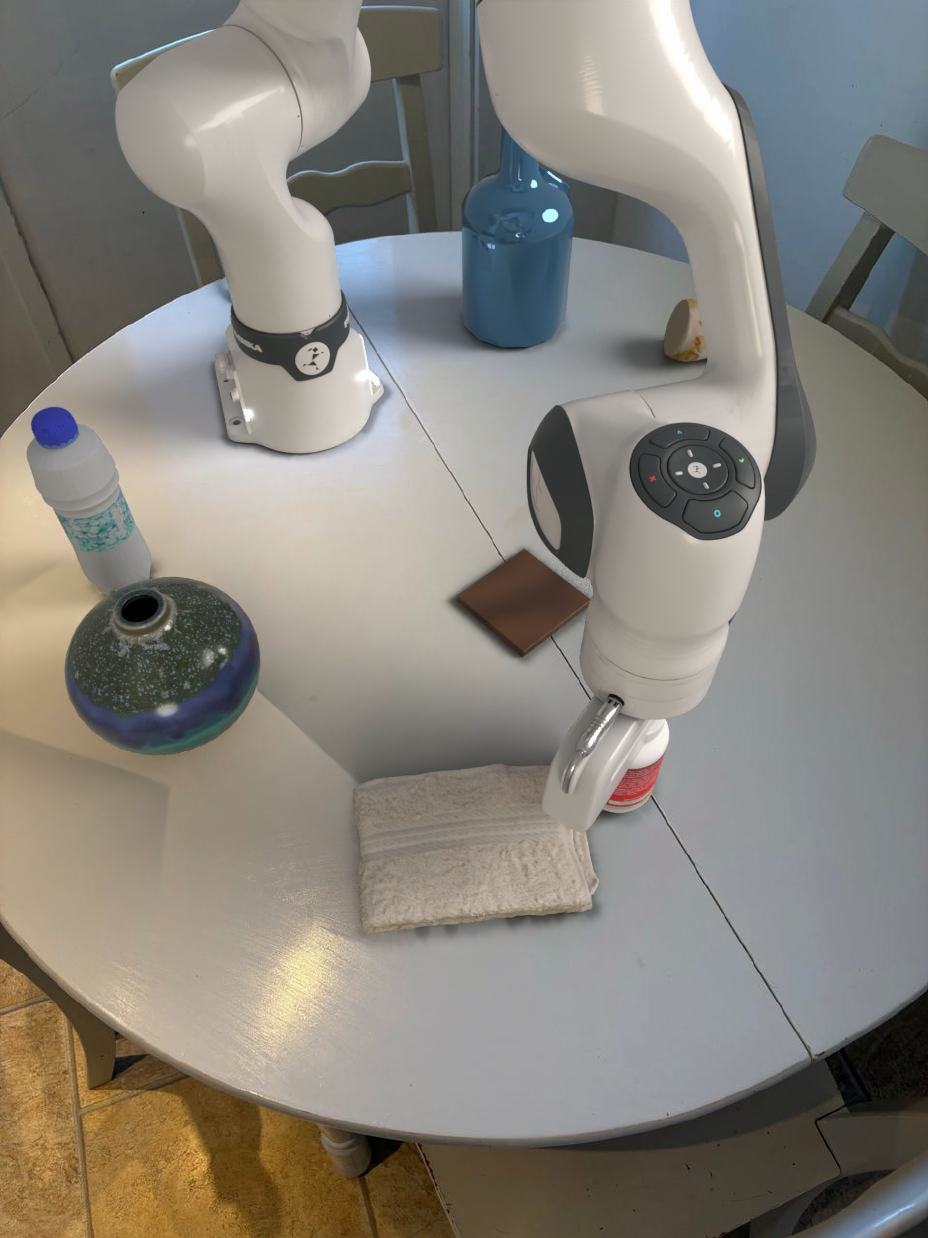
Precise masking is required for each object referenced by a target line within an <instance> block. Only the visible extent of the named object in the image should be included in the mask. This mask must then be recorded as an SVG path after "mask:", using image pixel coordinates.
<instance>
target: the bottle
mask: <svg viewBox="0 0 928 1238" xmlns="http://www.w3.org/2000/svg"><path fill="white" fill-rule="evenodd" d="M30 429H31V432H32V434H33V436H34V438H33V439H32V440H31V441H30V442H29V444H28V446H27V448H26V460H27V463H28V466H29V469H30V472H31V475H32V478H33V481H34V485H35V486H34V487H35V488H36V490H37V491H38V493H39V494H40V495H41V498H42V500H43V501H44V503H45V504H47V505H48V506H49V507H51V509H52V510H53V512H54V514H55V515H56V518H57V519H58V521H59V523H60V525H61V527H62V529H63V531H64V533H65V535H66V537H67V539H68V541H69V542H70V544H71V546H72V549H73V551H74V555H75V556H76V559H77V561H78V565H79V566H80V568H81V571H82V572H83V574H84V576H85V578H86V579H87V581H88V582H89V583H90V584H92V585H93V586H94V587H95V588H97V589H98V591H99V592H101V593H102V594H104V595H107V596H109V595H110V594H112V593H114V592H115V591H117V590H119V589H121V588H123V587H125V586H128V585H131V584H133V583H136V582H139V581H143V580H147V579H150V575H151V568H152V566H153V558H152V554H151V551H150V547H149V546H148V544H147V542H146V540H145V538H144V536H143V534H142V533H141V531H140V529H139V526H138V525H137V524H136V521H135V519H134V516H133V514H132V512H131V509H130V507H129V505H128V503H127V500H126V497H125V495H124V493H123V490H122V488H121V486H120V484H119V483H120V474H119V470H118V469H117V467H116V462H115V460H114V457H113V456H112V455H111V454H110V452H109V451H108V449H107V447H106V446H105V443H104V442H103V441H102V439H101V438H100V436H99V434H98V433H97V432H96V431H95V430H94V429H93V428H92V427H89V426H87V425H85V424H80V423H77V422H76V419H75V417H74V415H73V414H72V413H71V412H70V411H69V410H68V409H66V408H65V407H60V406H49V407H45V408H43V409H40V410H39V411H37V412H36V413H35V414H34V415H33V416H32V419H31V422H30Z"/></svg>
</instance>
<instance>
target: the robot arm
mask: <svg viewBox="0 0 928 1238" xmlns="http://www.w3.org/2000/svg"><path fill="white" fill-rule="evenodd" d="M474 1H475V8H476V17H477V18H476V19H477V20H476V21H477V28H478V38H479V44H480V51H481V59H482V64H483V70H484V74H485V79H486V84H487V87H488V88H487V89H488V94H489V96H490V100H491V104H492V108H493V109H494V110H493V111H494V113H495V115H496V118H497V119H498V121H499V122H500V124H501V126H502V125H503V127H504V128H505V130H506V131H507V132H508V134H509V135H510V136H511V138H512V139H513V140H514V141H515V142H516V143H517V144H518V145H519V146H520V147H521V148H522V149H523V150H524V151H525V152H527V153H528V154H529V155H530V156H531V157H533V158H534V159H536V160H537V161H539V164H541V165H543V166H545V167H546V168H548V169H550V170H552V171H554V172H556V173H559V174H560V175H563V176H565V177H567V178H570V179H571V180H572V179H573V180H576V181H579V182H582V183H585V184H589V185H592V186H595V187H599V188H602V189H607V190H610V191H613V192H615V193H620V194H623V195H626V196H629V197H632V198H635V199H637V200H639V201H641V202H644V203H647V205H650V207H651V206H652V207H653V208H655V209H656V210H658V211H659V212H661V214H662V215H664V216H665V217H666V218H668V220H670V222H671V223H672V224H673V225H674V226H675V228H676V230H677V231H678V233H679V234H680V236H681V239H682V241H683V243H684V246H685V250H686V254H687V259H688V263H689V268H690V273H691V278H692V283H693V288H694V295H695V300H697V305H698V310H699V315H700V320H701V325H702V330H703V335H704V340H705V346H706V351H707V358H706V365H705V368H704V369H703V371H702V373H701V374H700V375H699V376H697V377H695V378H690V379H686V380H681V381H676V382H675V381H674V382H670V383H665V384H659V385H654V386H649V387H644V388H637V389H632V390H630V389H626V390H620V391H614V392H610V393H603V394H599V395H598V394H597V395H594V396H587V397H583V398H579V399H574V400H570V401H567V402H565V403H562V404H555V405H554V406H553V407H552V408H551V409H550V410H549V411H548V412H547V413H546V414H545V415H544V417H542V418H543V419H541V421H540V423H539V424H538V426H537V428H536V430H535V432H534V434H533V435H532V438H531V441H530V443H529V445H528V447H527V454H526V455H527V456H526V495H527V505H528V510H529V514H530V517H531V520H532V524H533V526H534V528H535V530H536V533H537V535H538V537H539V538H540V540H541V542H542V544H544V546H545V547H546V548H547V550H548V551H549V552H550V553H551V554H552V555H553V556H554V557H555V558H557V560H558V561H560V563H561V564H563V565H564V566H565V568H567V569H568V570H569V571H571V572H572V573H573V574H574V575H576V576H577V577H579V578H581V579H585V578H587V579H588V580H589V582H590V585H591V588H592V596H591V598H590V599H591V600H590V602H589V605H588V607H587V608H586V615H585V621H584V627H583V632H582V639H581V644H580V650H579V668H580V672H581V675H582V678H583V680H584V682H585V684H586V685H587V687H588V689H589V690H590V692H592V694H593V695H592V697H591V699H590V700H589V701H588V703H587V704H586V706H585V707H584V709H583V710H582V711H581V713H580V714H579V716H578V717H577V718H576V720H575V721H574V723H573V724H572V725H571V726H570V728H569V729H568V731H567V733H566V734H565V736H564V737H563V739H562V740H561V742H560V744H559V745H558V747H557V749H556V751H555V753H554V756H553V757H552V758H553V759H552V760H551V763H550V769H549V772H548V776H547V779H546V783H545V787H544V791H543V796H542V800H541V806H542V809H543V810H544V812H545V813H547V814H548V815H549V816H551V817H552V818H553V819H555V820H556V821H558V822H560V823H561V824H563V825H565V826H566V827H568V828H570V829H572V830H574V831H577V832H584V831H586V832H587V831H588V830H590V828H591V827H592V826H593V824H594V823H595V822H596V820H597V818H598V817H599V815H600V814H601V813H602V811H603V807H604V806H605V804H606V803H607V801H608V800H609V798H610V797H611V795H612V793H613V792H614V790H615V789H616V787H617V786H618V784H619V783H620V781H621V779H622V778H623V776H624V775H625V773H626V772H627V770H628V769H629V767H630V765H631V764H632V762H633V761H634V759H635V758H636V756H637V755H638V753H639V751H640V750H641V748H642V747H643V745H644V741H645V737H646V735H647V733H648V731H649V730H650V728H651V727H652V725H653V724H654V722H655V720H660V719H666V720H667V719H673V718H675V717H679V716H682V715H684V714H685V713H688V712H689V711H691V710H692V709H694V708H695V707H697V705H699V704H700V702H702V701H703V699H704V698H705V696H706V695H707V694H708V692H709V689H710V686H711V684H712V682H713V679H714V676H715V674H716V672H717V669H718V666H719V664H720V661H721V659H722V656H723V653H724V650H725V648H726V645H727V642H728V637H729V630H730V625H731V623H732V621H733V620H734V618H735V616H736V614H737V613H738V610H739V608H740V606H741V605H742V602H743V601H744V597H745V595H746V593H747V590H748V587H749V585H750V581H751V578H752V575H753V572H754V568H755V565H756V561H757V558H758V555H759V550H760V546H761V541H762V536H763V530H764V529H763V528H764V522H766V521H768V522H769V521H772V520H774V519H776V518H778V517H779V516H780V515H782V514H784V512H786V510H787V509H788V508H789V507H790V505H791V504H792V503H793V501H794V500H795V499H796V497H798V495H799V493H800V492H801V490H802V489H803V487H804V486H805V484H806V482H807V480H808V479H809V476H810V474H811V472H812V470H813V467H814V464H815V461H816V456H817V433H816V427H815V423H814V418H813V414H812V411H811V407H810V405H809V401H808V399H807V395H806V393H805V389H804V387H803V384H802V380H801V377H800V374H799V370H798V368H797V363H796V358H795V352H794V347H793V342H792V336H791V330H790V322H789V316H788V310H787V303H786V302H787V301H786V297H785V291H784V290H785V289H784V284H783V277H782V271H781V264H780V258H779V252H778V245H777V240H776V239H777V238H776V233H775V227H774V219H773V213H772V208H771V201H770V195H769V189H768V185H767V179H766V173H765V168H764V163H763V159H762V158H763V157H762V153H761V149H760V144H759V140H758V136H757V132H756V129H755V128H756V127H755V124H754V121H753V118H752V115H751V112H750V110H749V107H748V105H747V103H746V101H745V99H744V98H743V96H742V95H741V93H740V92H739V91H737V90H736V89H735V88H733V87H731V86H729V85H728V84H727V83H725V82H723V81H722V80H720V78H719V76H718V75H717V73H716V71H715V70H714V67H713V66H712V64H711V62H710V60H709V59H708V57H707V54H706V52H705V49H704V47H703V45H702V41H701V39H700V36H699V33H698V31H697V30H698V29H697V28H696V24H695V20H694V17H693V12H692V9H691V3H690V0H474ZM363 3H364V0H239V2H238V5H237V7H236V8H235V10H234V11H233V13H232V14H231V15H230V16H229V17H228V18H227V20H225V22H224V23H222V24H220V25H219V26H218V27H216V28H215V29H212V30H211V31H208V32H206V33H204V34H202V35H199V36H198V37H195V38H192V39H191V40H189V41H187V42H184V43H182V44H180V45H178V46H176V47H173V48H172V49H170V50H167V51H164V52H162V53H160V54H159V55H158V56H156V57H155V58H154V59H153V60H152V61H151V62H149V63H148V64H147V65H146V66H145V67H143V68H142V69H141V70H140V71H139V72H138V73H137V74H136V75H135V76H133V77H132V79H130V80H129V81H128V82H127V83H126V84H125V85H124V86H123V87H122V88H121V89H120V91H119V92H118V95H117V97H116V101H115V107H114V108H115V109H114V110H115V111H114V123H115V131H116V137H117V140H118V144H119V146H120V149H121V152H122V154H123V156H124V158H125V161H126V163H127V164H128V166H129V167H130V169H131V171H132V172H133V174H134V175H135V177H136V178H137V179H138V180H139V181H140V183H142V184H143V186H144V187H145V188H146V189H148V190H149V191H150V192H151V193H152V194H153V195H155V196H156V197H158V198H159V199H161V200H163V201H164V202H166V203H168V204H170V205H172V206H174V207H177V208H180V209H183V210H185V211H187V212H189V213H190V214H192V215H194V216H195V217H196V218H197V219H198V220H199V222H201V224H202V225H203V226H204V227H205V229H206V230H207V232H208V233H209V235H210V236H211V238H212V241H213V243H214V245H215V247H216V250H217V252H218V256H219V260H220V262H221V266H222V270H223V273H224V277H225V280H226V284H227V288H228V292H229V295H230V301H231V305H230V315H229V317H230V324H229V325H228V326H227V327H226V329H225V332H224V333H225V338H226V342H227V347H228V349H227V350H226V351H224V352H223V351H222V352H218V353H216V354H214V357H215V359H214V371H215V377H216V381H217V386H218V391H219V392H218V393H219V396H220V402H221V407H222V412H223V417H224V422H225V427H226V433H227V438H228V439H229V440H230V441H233V442H236V443H243V444H244V443H246V444H255V445H256V444H257V445H260V446H263V447H266V448H268V449H270V450H274V451H276V452H277V451H278V452H281V453H282V452H283V453H287V454H288V453H290V454H310V453H317V452H318V453H319V452H323V451H326V450H329V449H332V448H336V447H338V446H340V445H342V444H344V443H346V442H348V441H349V440H351V439H353V438H354V437H355V436H356V435H358V434H359V433H360V432H361V430H362V429H363V428H364V427H365V426H366V424H367V423H368V421H369V418H370V416H371V411H372V408H373V407H374V405H375V404H376V403H377V402H378V401H379V400H380V399H381V397H382V396H383V395H384V393H385V388H384V386H383V382H382V381H381V380H380V379H379V377H377V376H376V375H375V374H374V373H373V372H372V371H371V370H370V368H369V362H368V357H367V352H366V347H365V346H366V345H365V341H364V338H363V335H362V334H360V333H358V332H357V330H355V329H354V328H352V327H351V326H350V310H349V306H348V303H347V299H346V295H345V293H344V291H343V289H342V288H341V283H340V282H341V281H340V273H339V266H338V259H337V258H338V257H337V251H336V243H335V236H334V231H333V227H332V226H331V224H330V222H329V220H328V219H327V218H326V216H324V214H323V213H322V212H320V211H319V210H318V209H317V208H316V207H315V206H314V205H313V204H311V203H310V202H307V201H306V200H305V199H301V198H299V197H296V196H292V195H291V192H290V189H289V186H288V182H287V181H288V180H287V171H288V166H289V163H290V162H292V161H293V160H295V159H296V158H298V157H300V156H301V155H303V154H304V153H307V152H308V151H309V150H311V149H314V148H315V147H316V146H319V145H320V144H321V143H323V142H325V141H327V139H329V138H331V137H333V136H334V135H335V134H337V132H338V131H340V129H341V128H342V127H343V126H345V124H346V123H347V122H348V121H349V120H350V119H351V118H352V117H353V115H354V114H355V113H356V112H357V111H358V110H359V108H360V107H361V106H362V105H363V104H364V102H365V101H366V99H367V97H368V94H369V91H370V87H371V82H372V81H371V80H372V67H371V66H372V65H371V60H370V59H371V58H370V54H369V49H368V47H367V45H366V41H365V39H364V37H363V35H362V33H361V30H360V29H359V27H358V24H359V19H360V13H361V9H362V5H363Z"/></svg>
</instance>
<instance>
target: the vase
mask: <svg viewBox="0 0 928 1238" xmlns="http://www.w3.org/2000/svg"><path fill="white" fill-rule="evenodd" d="M63 669H64V670H63V671H64V683H65V688H66V692H67V695H68V698H69V701H70V703H71V705H72V707H73V708H74V711H75V712H76V715H77V716H78V717H79V718H80V720H81V721H82V722H83V723H84V724H85V725H86V727H87V728H89V729H90V730H91V732H92V733H94V734H95V735H97V736H98V737H99V738H100V739H102V740H103V741H105V742H106V743H108V744H110V745H112V746H114V747H116V748H118V749H121V750H124V751H127V752H129V753H135V754H139V755H145V756H170V755H177V754H182V753H185V752H189V751H193V750H196V749H198V748H201V747H202V746H203V747H204V746H205V745H207V744H209V743H210V742H213V741H214V740H215V739H218V738H219V737H220V736H222V735H223V734H224V733H226V732H227V730H228V731H229V730H230V729H231V727H232V726H233V725H234V724H235V723H237V721H238V720H239V719H240V718H241V716H242V715H243V714H244V712H246V710H247V708H248V706H249V705H250V702H251V701H252V699H253V696H254V695H255V692H256V689H257V686H258V683H259V678H260V671H261V648H260V642H259V639H258V635H257V631H256V629H255V628H254V625H253V623H252V621H251V619H250V616H248V614H247V613H246V611H244V609H243V608H242V606H241V605H240V604H239V603H238V602H237V601H236V600H235V599H234V598H232V597H231V596H230V595H229V594H228V593H226V592H225V591H223V590H221V588H218V587H216V586H214V585H211V584H209V583H206V582H204V581H201V580H197V579H193V578H189V577H183V576H160V577H152V578H149V579H147V580H143V581H139V582H136V583H133V584H131V585H128V586H125V587H123V588H121V589H119V590H117V591H115V592H114V593H112V594H110V595H107V596H106V597H104V598H102V599H101V600H100V601H99V602H97V603H96V604H95V605H94V606H92V608H91V609H90V610H89V611H88V612H87V613H86V614H85V616H84V617H83V619H81V621H80V622H79V624H78V625H77V627H76V629H75V630H74V633H73V634H72V636H71V638H70V640H69V644H68V647H67V650H66V652H65V661H64V668H63Z"/></svg>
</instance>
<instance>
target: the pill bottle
mask: <svg viewBox="0 0 928 1238" xmlns="http://www.w3.org/2000/svg"><path fill="white" fill-rule="evenodd" d="M669 740H670V729H669V724H668V721H667V719H660V720H655V722H654V724H653V725H652V727H651V728H650V730H649V731H648V733H647V735H646V737H645V741H644V745H643V747H642V748H641V750H640V751H639V753H638V755H637V756H636V758H635V759H634V761H633V762H632V764H631V765H630V767H629V769H628V770H627V772H626V773H625V775H624V776H623V778H622V779H621V781H620V783H619V784H618V786H617V787H616V789H615V790H614V792H613V793H612V795H611V797H610V798H609V800H608V801H607V803H606V804H605V806H604V807H603V809H602V811H606V812H608V813H609V812H610V813H614V814H626V813H629V812H632V811H635V810H638V809H639V808H640V807H642V806H644V804H645V803H646V802H648V800H649V799H650V797H651V795H652V793H653V790H654V788H655V784H656V781H657V779H658V775H659V773H660V770H661V767H662V764H663V760H664V757H665V754H666V751H667V749H668V744H669V742H670V741H669Z"/></svg>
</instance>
